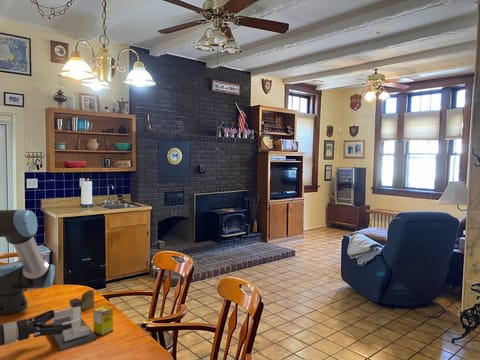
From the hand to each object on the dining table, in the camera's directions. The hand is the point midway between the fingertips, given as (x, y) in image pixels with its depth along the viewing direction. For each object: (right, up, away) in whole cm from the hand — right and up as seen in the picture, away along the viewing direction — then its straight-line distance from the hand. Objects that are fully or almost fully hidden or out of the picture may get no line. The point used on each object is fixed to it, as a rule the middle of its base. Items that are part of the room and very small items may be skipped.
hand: (75, 316), depth 152 cm
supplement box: (+8, -11, +9) cm, 17 cm away
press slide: (0, -9, +1) cm, 9 cm away
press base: (-5, -10, +7) cm, 14 cm away
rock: (-11, -9, +34) cm, 37 cm away
